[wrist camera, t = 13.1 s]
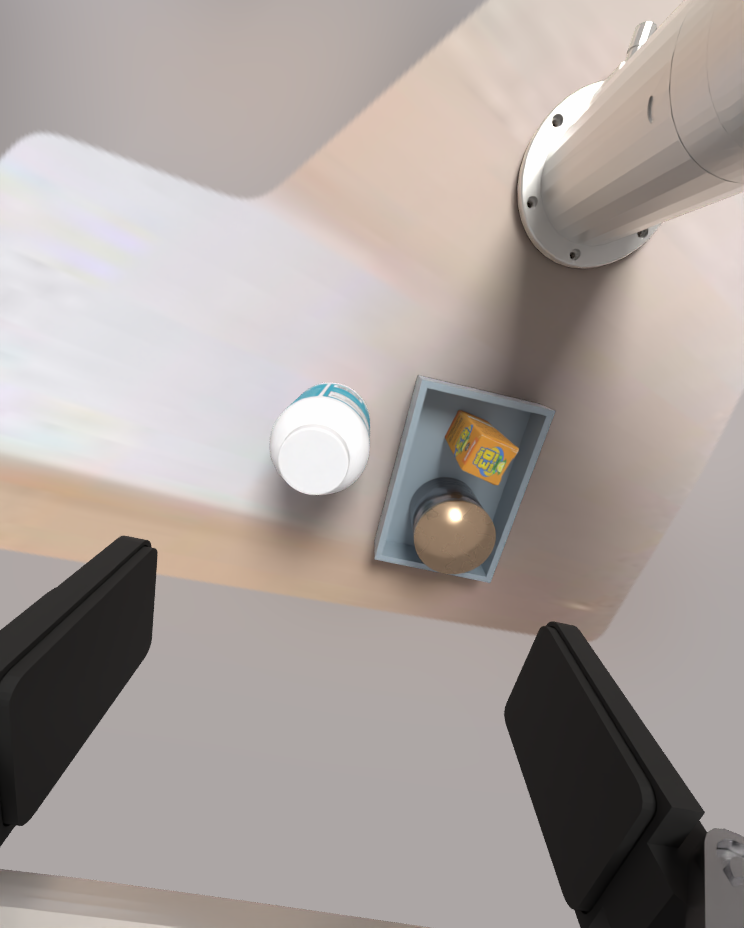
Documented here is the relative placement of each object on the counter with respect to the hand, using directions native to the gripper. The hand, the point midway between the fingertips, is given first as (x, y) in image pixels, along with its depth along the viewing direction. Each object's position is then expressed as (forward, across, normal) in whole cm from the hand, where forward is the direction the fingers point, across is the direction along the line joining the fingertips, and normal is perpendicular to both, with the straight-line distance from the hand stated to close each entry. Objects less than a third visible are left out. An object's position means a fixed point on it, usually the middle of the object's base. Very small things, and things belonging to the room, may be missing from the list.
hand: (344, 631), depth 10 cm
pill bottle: (+31, +3, +2) cm, 31 cm away
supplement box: (+30, -10, 0) cm, 31 cm away
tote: (+30, -10, +5) cm, 32 cm away
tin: (+30, -10, +8) cm, 33 cm away
